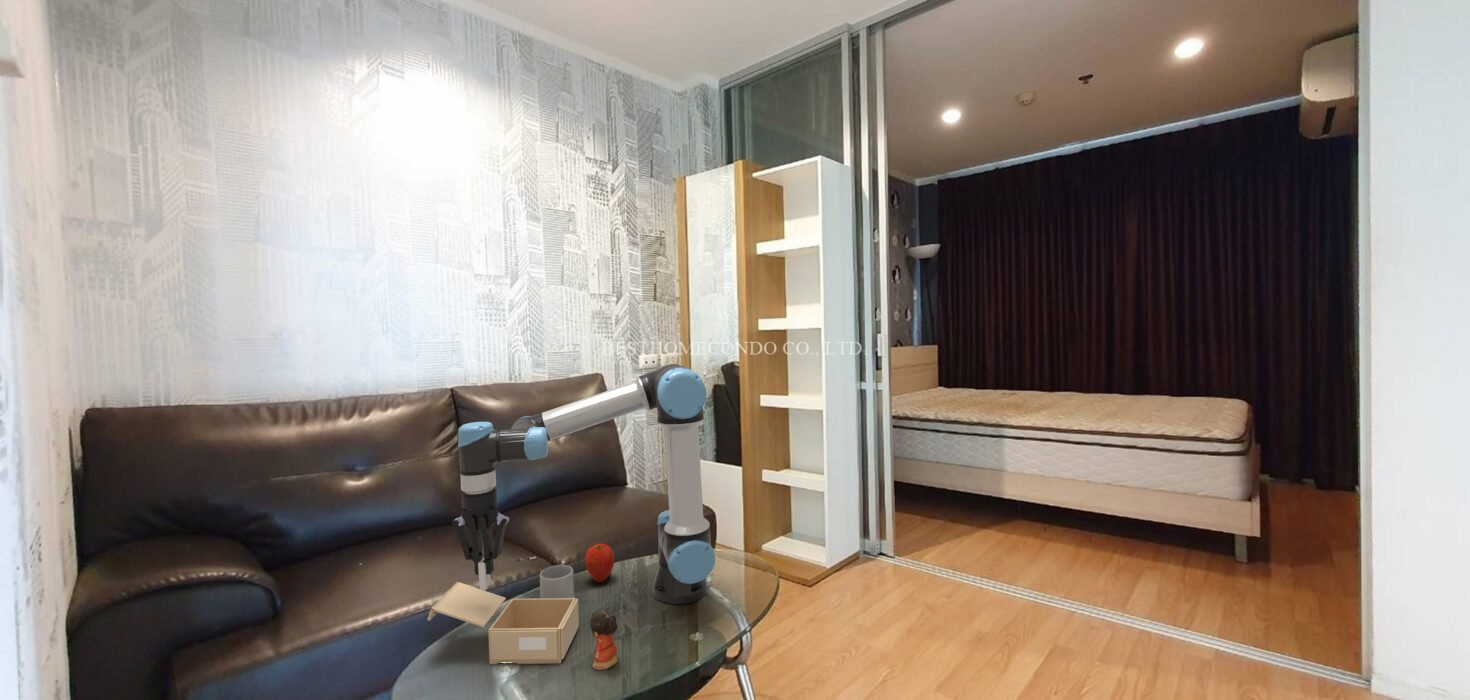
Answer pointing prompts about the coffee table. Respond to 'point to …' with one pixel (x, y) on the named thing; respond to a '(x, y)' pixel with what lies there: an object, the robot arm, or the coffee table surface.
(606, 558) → the apple
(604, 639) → the figurine
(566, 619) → the carton
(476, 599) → the lid
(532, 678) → the coffee table surface
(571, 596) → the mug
